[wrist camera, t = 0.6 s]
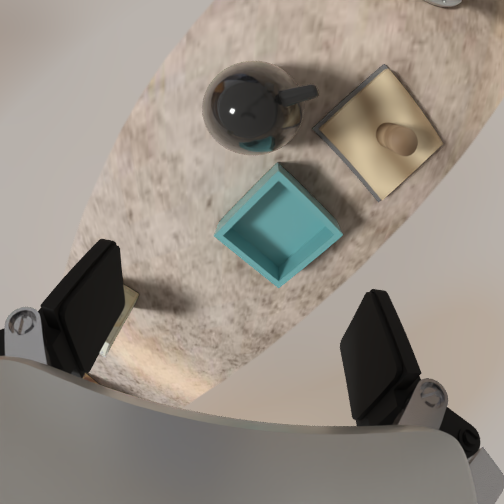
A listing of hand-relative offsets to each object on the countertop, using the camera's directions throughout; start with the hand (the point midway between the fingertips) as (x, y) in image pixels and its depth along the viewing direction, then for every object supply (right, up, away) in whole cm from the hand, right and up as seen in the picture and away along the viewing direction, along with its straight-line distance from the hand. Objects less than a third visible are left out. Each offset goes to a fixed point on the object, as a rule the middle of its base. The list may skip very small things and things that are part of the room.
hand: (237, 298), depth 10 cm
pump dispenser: (+1, +19, +20) cm, 28 cm away
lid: (+17, +16, +20) cm, 31 cm away
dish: (+4, +6, +27) cm, 28 cm away
